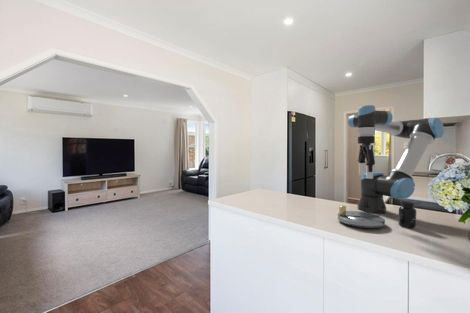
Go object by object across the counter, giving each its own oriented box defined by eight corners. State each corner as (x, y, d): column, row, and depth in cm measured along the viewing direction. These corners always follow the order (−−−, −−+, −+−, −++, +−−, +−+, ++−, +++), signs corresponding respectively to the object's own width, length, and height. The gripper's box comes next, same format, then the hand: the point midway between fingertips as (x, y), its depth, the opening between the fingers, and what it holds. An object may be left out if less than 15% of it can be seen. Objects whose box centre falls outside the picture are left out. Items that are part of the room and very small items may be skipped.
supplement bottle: (417, 229, 105) (417, 204, 104) (399, 227, 109) (399, 202, 108) (414, 225, 111) (415, 201, 110) (397, 222, 114) (398, 199, 114)
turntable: (374, 215, 122) (375, 203, 122) (393, 229, 102) (393, 214, 101) (333, 213, 126) (333, 201, 126) (343, 226, 106) (343, 211, 106)
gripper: (352, 137, 129) (352, 173, 130) (365, 135, 105) (364, 179, 106) (367, 136, 127) (366, 173, 128) (383, 134, 103) (382, 180, 104)
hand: (365, 176), depth 117 cm, fingers open, 13 cm apart
